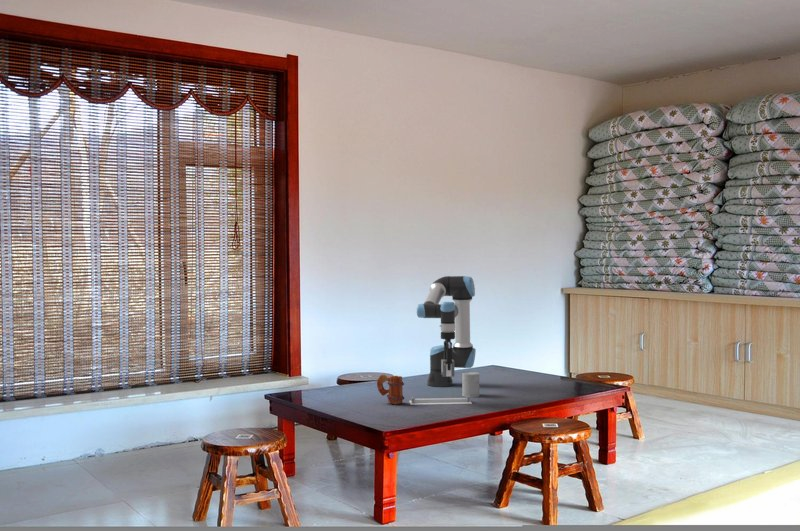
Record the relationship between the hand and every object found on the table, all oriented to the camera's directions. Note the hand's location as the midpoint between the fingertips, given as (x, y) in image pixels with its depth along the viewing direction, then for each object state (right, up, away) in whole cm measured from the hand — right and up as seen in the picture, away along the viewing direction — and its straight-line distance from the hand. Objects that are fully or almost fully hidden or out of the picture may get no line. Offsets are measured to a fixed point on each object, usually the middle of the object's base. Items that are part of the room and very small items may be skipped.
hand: (447, 374), depth 406 cm
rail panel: (-4, -15, 0) cm, 15 cm away
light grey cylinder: (+14, -14, +20) cm, 28 cm away
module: (0, 0, 0) cm, 0 cm away
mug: (-30, -15, -1) cm, 33 cm away
